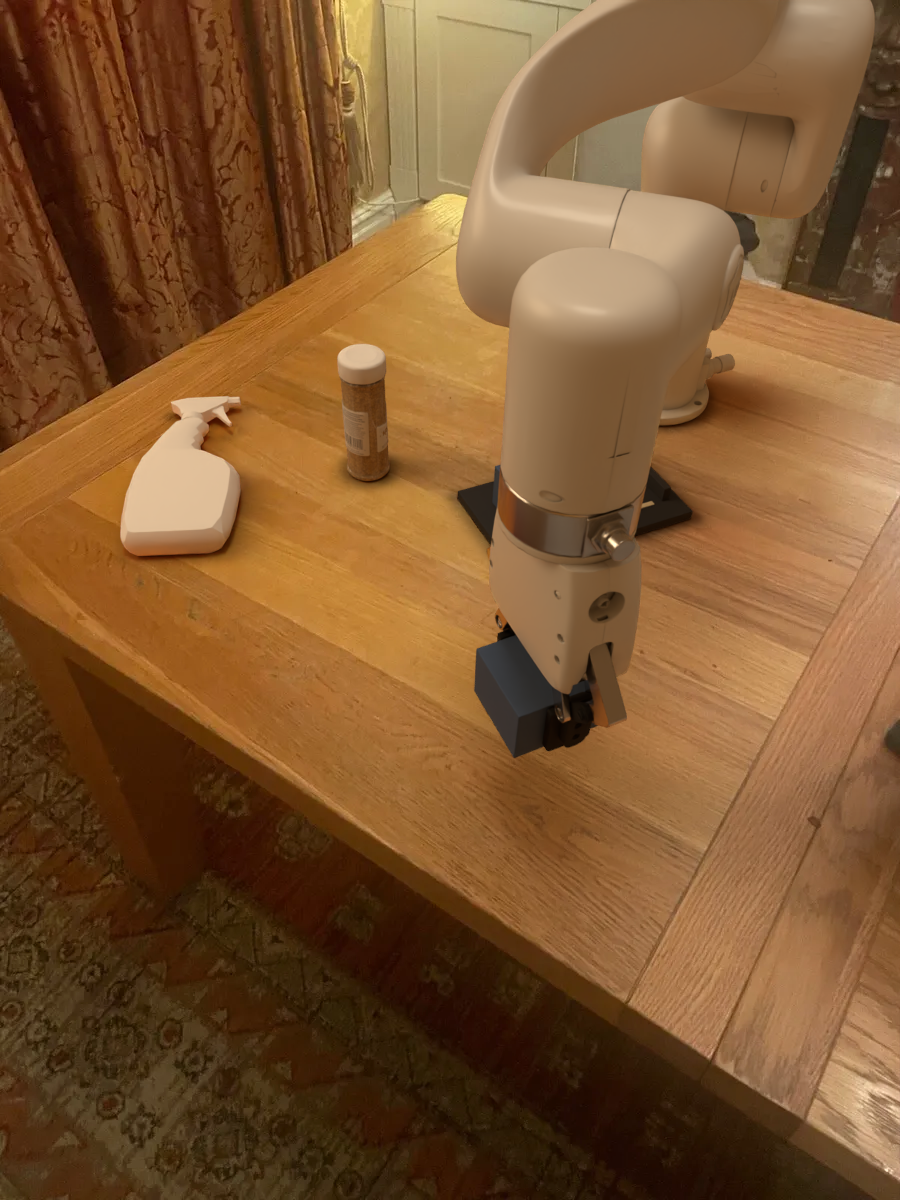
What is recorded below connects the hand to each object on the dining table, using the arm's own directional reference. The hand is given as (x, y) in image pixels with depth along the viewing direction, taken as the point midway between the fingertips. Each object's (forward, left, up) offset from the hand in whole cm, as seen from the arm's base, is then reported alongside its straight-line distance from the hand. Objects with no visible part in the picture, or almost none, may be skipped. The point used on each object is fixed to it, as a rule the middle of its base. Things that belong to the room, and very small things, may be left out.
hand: (540, 701), depth 61 cm
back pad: (0, 0, -1) cm, 1 cm away
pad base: (-19, -27, -10) cm, 34 cm away
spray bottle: (+14, -47, -11) cm, 50 cm away
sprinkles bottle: (-3, -41, -11) cm, 42 cm away
